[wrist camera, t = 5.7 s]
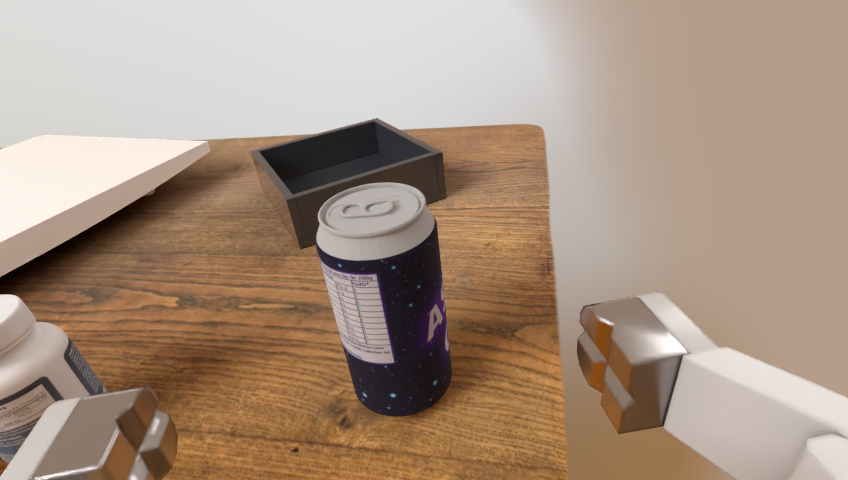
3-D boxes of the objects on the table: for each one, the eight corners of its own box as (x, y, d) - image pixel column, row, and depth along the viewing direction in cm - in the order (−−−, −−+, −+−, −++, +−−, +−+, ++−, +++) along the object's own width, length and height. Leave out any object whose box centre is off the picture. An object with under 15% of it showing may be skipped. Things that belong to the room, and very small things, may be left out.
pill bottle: (61, 396, 29) (-26, 285, 24) (136, 396, 28) (62, 283, 24) (-13, 477, 25) (-136, 361, 20) (74, 480, 24) (-33, 360, 19)
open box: (383, 156, 59) (377, 117, 56) (446, 197, 47) (442, 151, 44) (263, 191, 53) (250, 151, 51) (300, 249, 41) (286, 200, 39)
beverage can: (454, 425, 24) (434, 232, 18) (349, 429, 25) (293, 243, 18) (451, 347, 29) (434, 174, 23) (363, 352, 30) (323, 183, 23)
